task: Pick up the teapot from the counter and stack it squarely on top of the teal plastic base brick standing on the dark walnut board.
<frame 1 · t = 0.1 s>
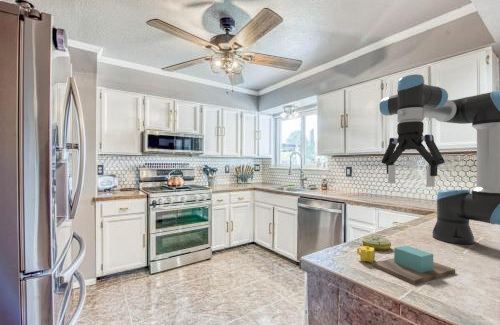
hand: (409, 184, 85), 28 cm above the worktop, tool pointing down, fingers open, 13 cm apart
walnut board: (413, 269, 84), on the worktop
teapot: (365, 260, 91), on the worktop
base brick: (413, 258, 84), on the walnut board, point 4 cm above the worktop
decorated donut: (376, 247, 106), on the worktop
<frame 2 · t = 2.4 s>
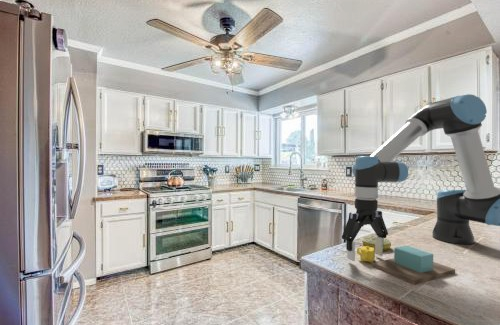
hand: (365, 257, 91), 1 cm above the worktop, tool pointing down, fingers open, 13 cm apart
nothing on the worktop moved.
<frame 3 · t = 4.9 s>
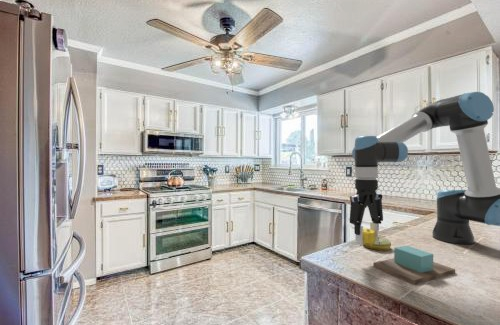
hand: (366, 241, 91), 7 cm above the worktop, tool pointing down, fingers closed on teapot, 7 cm apart
teapot: (366, 243, 91), point 6 cm above the worktop, touching gripper
everything else where it was.
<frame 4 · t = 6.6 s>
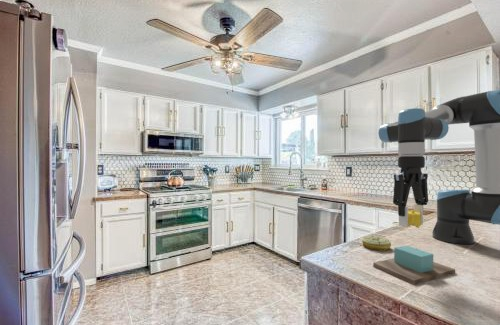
hand: (410, 224, 84), 15 cm above the worktop, tool pointing down, fingers closed on teapot, 7 cm apart
teapot: (410, 226, 84), point 14 cm above the worktop, touching gripper
everything else where it was.
when the fingers open (7 cm above the worktop, at t = 8.9 s): teapot stays where it is, resting on base brick.
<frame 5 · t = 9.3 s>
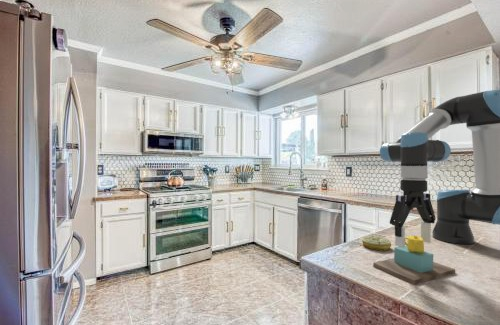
hand: (413, 244, 83), 8 cm above the worktop, tool pointing down, fingers open, 12 cm apart
teapot: (413, 251, 83), point 6 cm above the worktop, touching base brick
everything else where it was.
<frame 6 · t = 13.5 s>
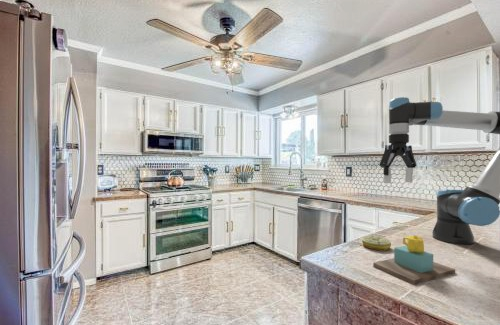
hand: (398, 182, 110), 27 cm above the worktop, tool pointing down, fingers open, 13 cm apart
nothing on the worktop moved.
at the end: teapot 0.2 cm off-centre on the base brick, point 6.0 cm above the base brick's base; teapot tilted 0°; the gripper is holding nothing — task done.
